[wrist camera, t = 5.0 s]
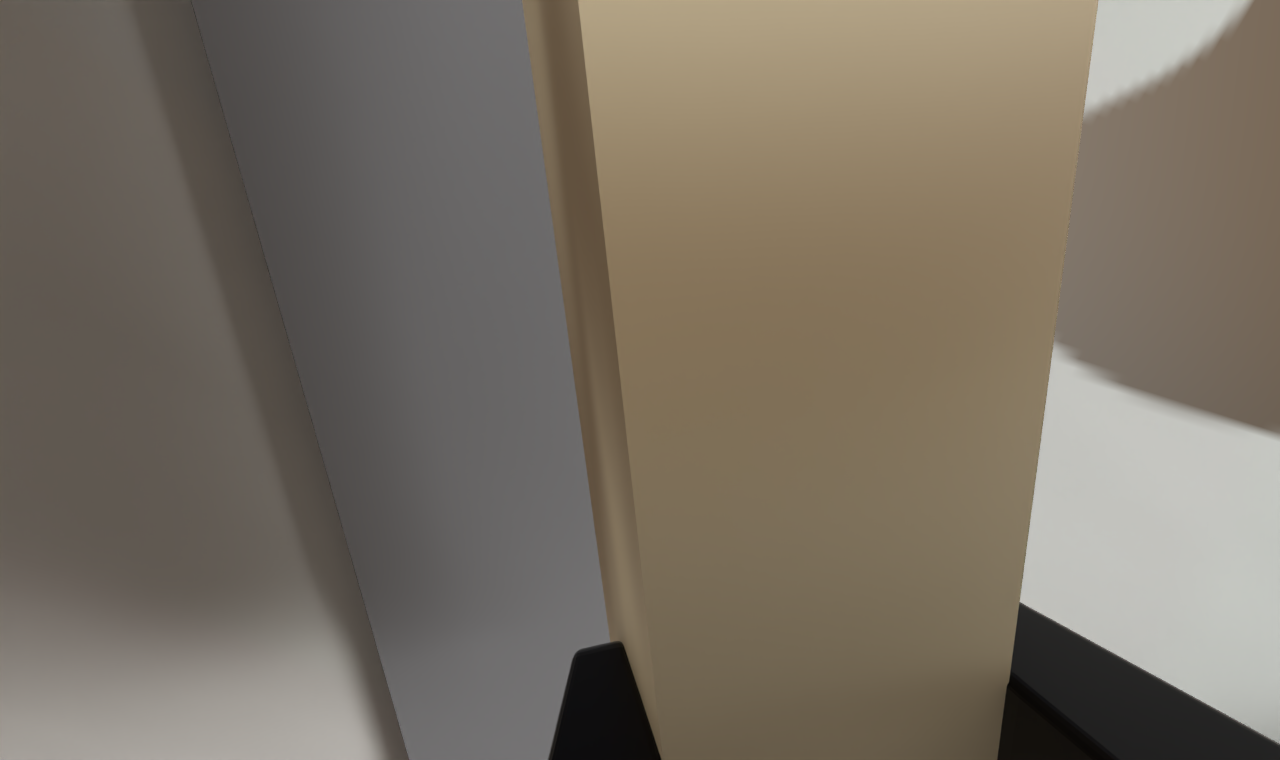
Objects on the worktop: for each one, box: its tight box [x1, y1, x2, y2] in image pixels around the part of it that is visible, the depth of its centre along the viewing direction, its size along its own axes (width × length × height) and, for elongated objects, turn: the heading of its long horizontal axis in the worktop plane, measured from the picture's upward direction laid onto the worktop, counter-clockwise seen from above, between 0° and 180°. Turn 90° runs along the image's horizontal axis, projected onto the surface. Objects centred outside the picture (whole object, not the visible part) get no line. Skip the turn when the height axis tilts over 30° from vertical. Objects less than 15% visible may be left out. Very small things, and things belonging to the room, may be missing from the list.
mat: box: [191, 0, 610, 760], centre depth 12 cm, size 18×8×1 cm, turn 5°
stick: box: [522, 0, 1098, 760], centre depth 6 cm, size 14×2×2 cm, turn 5°
